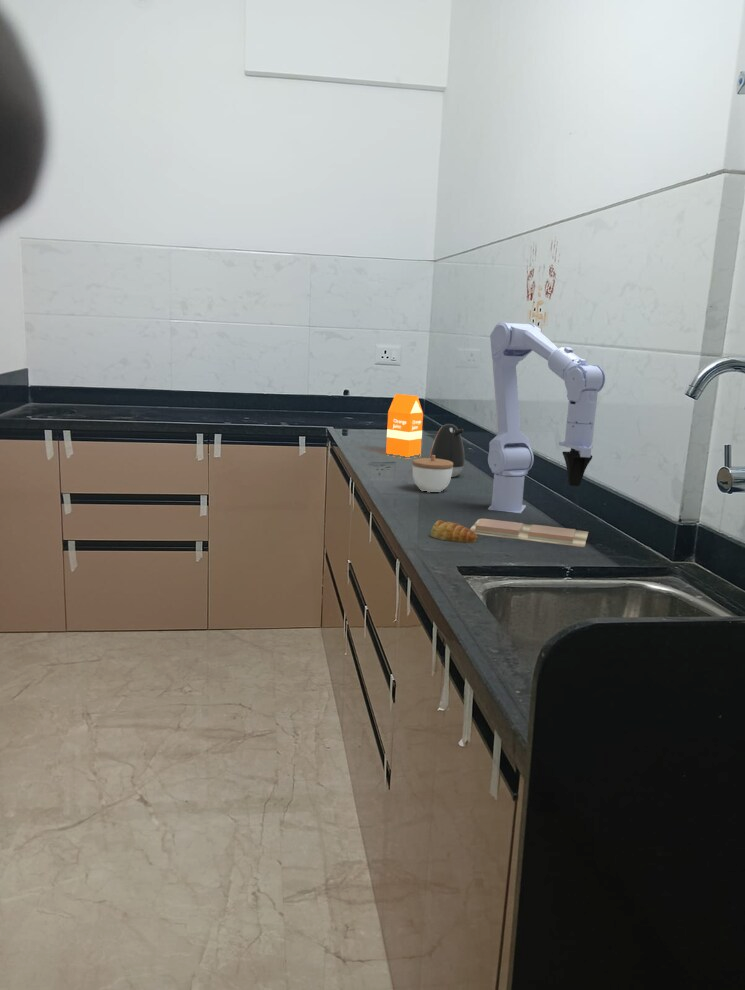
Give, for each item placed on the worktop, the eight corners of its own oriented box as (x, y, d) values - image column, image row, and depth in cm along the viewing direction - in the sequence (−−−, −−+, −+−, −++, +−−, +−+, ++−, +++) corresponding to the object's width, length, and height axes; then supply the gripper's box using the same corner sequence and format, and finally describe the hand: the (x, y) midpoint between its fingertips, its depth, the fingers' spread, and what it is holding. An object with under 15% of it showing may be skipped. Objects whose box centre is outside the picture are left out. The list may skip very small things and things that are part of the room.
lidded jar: (448, 496, 213) (451, 460, 211) (407, 492, 215) (409, 456, 213) (453, 488, 223) (456, 454, 221) (414, 484, 225) (416, 450, 223)
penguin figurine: (447, 480, 234) (450, 426, 231) (421, 474, 241) (424, 422, 238) (471, 477, 240) (475, 425, 237) (445, 471, 248) (449, 420, 245)
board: (478, 521, 187) (478, 518, 187) (588, 534, 180) (588, 531, 180) (466, 535, 174) (466, 532, 174) (584, 550, 167) (584, 547, 167)
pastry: (482, 542, 170) (484, 524, 169) (469, 549, 164) (470, 530, 163) (441, 534, 174) (442, 516, 174) (426, 541, 169) (427, 522, 168)
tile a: (481, 518, 181) (475, 525, 174) (523, 523, 178) (518, 530, 172) (481, 524, 181) (475, 531, 175) (522, 529, 179) (518, 536, 172)
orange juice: (398, 452, 280) (402, 393, 276) (420, 456, 275) (424, 395, 271) (385, 455, 273) (388, 394, 269) (407, 458, 268) (411, 396, 264)
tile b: (532, 524, 178) (528, 531, 171) (575, 529, 175) (573, 537, 169) (531, 530, 178) (527, 538, 172) (574, 535, 176) (572, 543, 169)
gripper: (554, 417, 183) (548, 478, 186) (569, 425, 169) (562, 491, 172) (586, 419, 183) (580, 479, 186) (603, 427, 169) (596, 492, 172)
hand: (574, 485), depth 179 cm, fingers closed
